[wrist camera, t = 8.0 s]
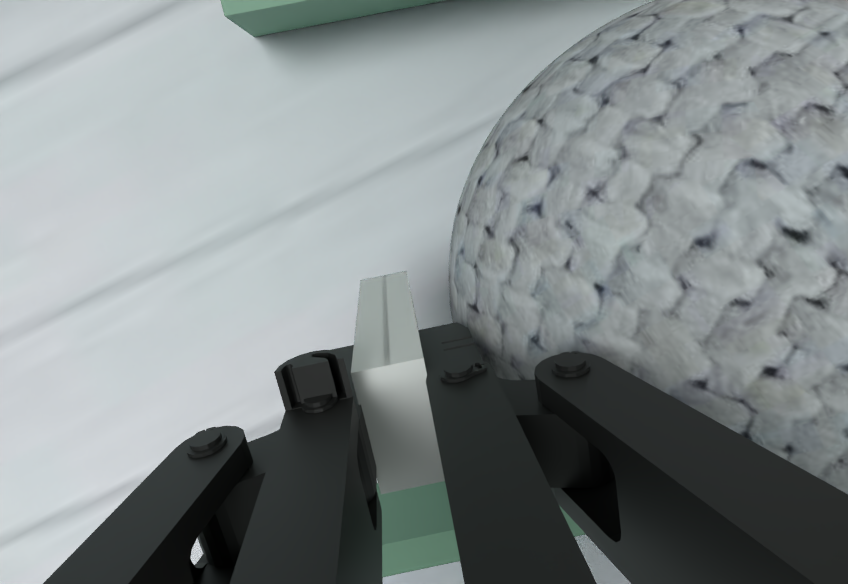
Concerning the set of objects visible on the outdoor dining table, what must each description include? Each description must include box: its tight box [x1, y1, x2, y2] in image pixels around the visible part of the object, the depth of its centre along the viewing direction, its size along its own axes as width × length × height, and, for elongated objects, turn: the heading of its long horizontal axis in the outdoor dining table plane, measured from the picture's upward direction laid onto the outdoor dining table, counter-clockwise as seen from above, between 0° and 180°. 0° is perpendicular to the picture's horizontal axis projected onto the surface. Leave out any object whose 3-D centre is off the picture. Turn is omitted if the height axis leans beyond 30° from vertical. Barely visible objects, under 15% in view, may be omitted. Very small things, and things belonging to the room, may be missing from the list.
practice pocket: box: [221, 0, 585, 577], centre depth 21 cm, size 22×22×4 cm
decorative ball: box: [449, 0, 848, 494], centre depth 16 cm, size 15×15×15 cm
